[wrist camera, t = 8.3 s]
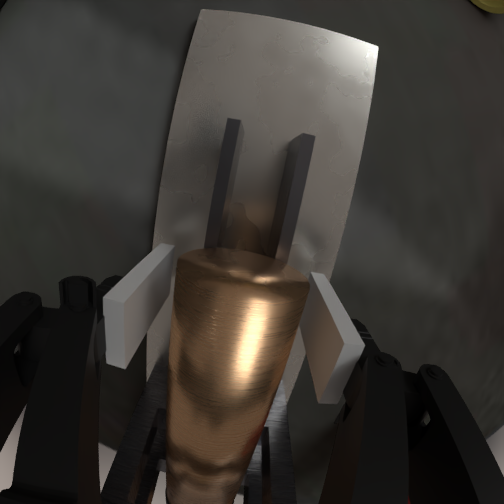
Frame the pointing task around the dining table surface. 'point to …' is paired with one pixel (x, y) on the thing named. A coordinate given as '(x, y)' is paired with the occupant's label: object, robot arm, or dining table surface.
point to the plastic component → (490, 5)
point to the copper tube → (225, 366)
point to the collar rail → (252, 199)
